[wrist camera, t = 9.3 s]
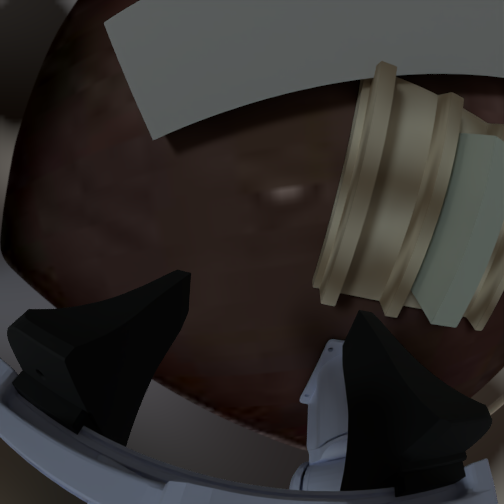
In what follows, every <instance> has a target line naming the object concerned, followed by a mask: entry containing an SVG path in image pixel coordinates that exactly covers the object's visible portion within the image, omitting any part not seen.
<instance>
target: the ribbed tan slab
mask: <svg viewBox="0 0 504 504" xmlns="http://www.w3.org/2000/svg"><path fill="white" fill-rule="evenodd" d="M396 72H397V66H394V65H392V64H389V63H386V62H384V61H381V62H380V63H378V64H377V65H376V70H375V74H374V78H367V79H361V80H360V86H359V92H358V98H357V104H356V109H355V114H354V120H353V125H352V130H351V134H350V139H349V144H348V149H347V153H346V158H345V162H344V166H343V171H342V175H341V179H340V183H339V187H338V191H337V195H336V199H335V203H334V207H333V211H332V215H331V218H330V222H329V226H328V229H327V233H326V236H325V240H324V243H323V247H322V250H321V254H320V257H319V260H318V264H317V267H316V270H315V274H314V277H313V280H312V283H313V287H314V288H319V290H320V298H321V304H326V305H331V306H335V305H336V302H337V300H338V297H339V294H340V293H343V294H348V295H352V296H357V297H362V298H367V299H372V300H377V301H380V304H381V306H382V309H383V311H384V313H385V316H389V317H395V318H397V317H398V315H399V313H400V311H401V309H402V307H403V306H408V307H413V308H419V309H422V308H421V306H420V304H419V303H418V301H417V299H416V298H415V296H414V295H413V293H412V291H411V287H412V285H413V283H414V281H415V278H416V276H417V274H418V271H419V269H420V267H421V264H422V262H423V259H424V257H425V254H426V251H427V249H428V246H429V244H430V241H431V238H432V235H433V232H434V229H435V227H436V224H437V221H438V217H439V214H440V211H441V208H442V205H443V201H444V198H445V194H446V191H447V187H448V183H449V179H450V175H451V171H452V167H453V162H454V158H455V153H456V148H457V143H458V137H459V133H468V134H482V135H492V136H497V137H498V138H500V139H501V140H502V141H504V124H488V123H486V122H485V121H483V120H482V119H480V118H478V117H477V116H475V115H473V114H472V113H470V112H468V111H467V110H465V109H463V101H464V98H462V97H460V96H458V95H456V94H455V93H453V92H450V93H446V94H441V95H437V94H435V93H433V92H431V91H428V90H426V89H424V88H422V87H420V86H417V85H415V84H413V83H410V82H408V81H406V80H403V79H401V78H398V77H396ZM503 290H504V221H503V224H502V227H501V230H500V233H499V236H498V239H497V242H496V244H495V247H494V250H493V252H492V255H491V257H490V260H489V262H488V265H487V267H486V269H485V272H484V274H483V276H482V278H481V281H480V283H479V285H478V287H477V289H476V291H475V293H474V295H473V297H472V299H471V301H470V303H469V305H468V307H467V309H466V311H465V313H464V314H463V317H466V318H467V319H468V320H469V322H470V323H471V325H472V326H473V327H474V329H475V330H480V331H482V329H483V328H484V326H485V324H486V322H487V321H488V319H489V317H490V315H491V314H492V312H493V310H494V308H495V306H496V304H497V302H498V300H499V298H500V296H501V294H502V292H503Z"/></svg>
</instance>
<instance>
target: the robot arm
mask: <svg viewBox="0 0 504 504" xmlns="http://www.w3.org/2000/svg"><path fill="white" fill-rule="evenodd" d="M190 280H191V273H189V272H185V271H181V270H176V271H173V272H171V273H169V274H167V275H165V276H163V277H161V278H159V279H157V280H154V281H152V282H150V283H148V284H146V285H144V286H142V287H139V288H137V289H134V290H132V291H130V292H127V293H125V294H122V295H119V296H117V297H114V298H110V299H107V300H104V301H100V302H96V303H91V304H86V305H82V306H76V307H69V308H60V309H29V310H27V311H26V312H25V313H24V314H23V315H22V316H21V317H20V318H18V319H17V320H16V321H15V322H14V323H13V324H12V325H11V326H9V327H8V331H7V336H8V341H9V343H10V346H11V348H12V350H13V352H14V354H15V356H16V358H17V360H18V362H19V364H20V366H21V368H22V370H23V371H22V372H21V373H20V374H19V375H18V374H17V373H16V372H15V370H14V369H13V368H12V367H10V366H9V365H8V364H7V363H6V362H5V361H3V360H2V359H1V358H0V437H1V438H2V439H3V440H4V441H5V442H6V443H7V444H8V445H9V446H10V447H11V448H12V449H14V450H15V451H16V452H17V453H18V454H19V455H20V456H22V457H23V458H24V459H25V460H26V461H28V462H29V463H30V464H31V465H32V466H34V467H35V468H36V469H38V470H39V471H40V472H41V473H43V474H44V475H46V476H47V477H48V478H49V479H51V480H52V481H54V482H55V483H57V484H58V485H60V486H61V487H63V488H64V489H66V490H67V491H69V492H70V493H72V494H74V495H75V496H77V497H78V498H80V499H82V500H83V501H85V502H87V504H497V503H498V501H497V496H496V491H495V486H494V482H493V478H492V474H491V470H490V467H489V463H488V460H487V459H483V460H480V461H477V462H474V463H471V464H469V465H467V466H465V467H464V466H463V462H462V461H464V460H466V458H467V456H466V452H465V451H466V450H467V449H469V448H470V447H471V446H472V445H473V444H475V443H476V442H477V441H478V440H479V439H480V438H481V437H482V436H483V435H484V434H485V433H486V432H487V431H488V429H489V428H490V426H491V424H492V418H491V416H490V413H489V411H488V409H487V407H486V405H484V404H482V403H479V402H477V401H475V400H473V399H471V398H469V397H467V396H465V395H463V394H461V393H460V392H458V391H456V390H454V389H453V388H451V387H450V386H448V385H447V384H445V383H444V382H443V381H441V380H440V379H438V378H437V377H436V376H434V375H433V374H432V373H431V372H429V371H428V370H427V369H426V368H425V367H424V366H422V365H421V364H420V363H419V362H418V361H417V360H416V359H415V358H414V357H413V356H412V355H411V354H410V353H409V352H408V351H407V350H406V349H405V348H404V347H403V346H402V345H401V344H400V343H399V341H398V340H397V339H396V338H395V337H394V336H393V335H392V334H391V333H390V331H389V330H388V329H387V328H386V327H385V326H384V325H383V323H382V322H381V321H380V320H379V319H378V318H377V317H376V316H375V315H374V314H373V313H372V312H366V311H361V310H359V311H358V314H357V316H356V318H355V320H354V322H353V325H352V327H351V329H350V331H349V333H348V335H347V337H346V339H345V341H343V340H337V339H331V340H329V341H328V342H327V344H326V346H325V348H324V350H323V352H322V355H321V357H320V359H319V361H318V363H317V365H316V367H315V369H314V371H313V373H312V375H311V377H310V379H309V381H308V383H307V385H306V387H305V389H304V391H303V393H302V395H301V397H300V402H301V403H305V404H308V427H307V450H308V453H309V462H305V463H303V464H301V465H300V466H299V467H298V469H297V470H296V472H295V473H294V475H293V477H292V479H291V483H290V488H289V489H280V488H271V487H263V486H257V485H250V484H245V483H239V482H233V481H229V480H225V479H220V478H216V477H212V476H208V475H204V474H200V473H197V472H193V471H190V470H186V469H183V468H180V467H177V466H174V465H171V464H167V463H165V462H162V461H159V460H157V459H154V458H151V457H149V456H146V455H144V454H141V453H139V452H136V451H134V450H132V449H129V448H127V447H126V445H127V441H128V438H129V435H130V432H131V429H132V426H133V423H134V421H135V418H136V415H137V413H138V410H139V407H140V405H141V402H142V400H143V397H144V395H145V392H146V390H147V388H148V386H149V384H150V381H151V379H152V377H153V375H154V373H155V371H156V369H157V367H158V366H159V364H160V363H161V361H162V359H163V358H164V356H165V354H166V353H167V351H168V350H169V348H170V346H171V345H172V343H173V342H174V340H175V338H176V337H177V335H178V333H179V332H180V330H181V328H182V326H183V323H184V321H185V319H186V316H187V314H188V311H189V294H190ZM329 348H332V349H329Z"/></svg>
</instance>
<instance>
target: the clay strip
mask: <svg viewBox="0 0 504 504" xmlns="http://www.w3.org/2000/svg"><path fill="white" fill-rule="evenodd" d="M503 221H504V141H502V140H501V139H500V138H498V137H497V136H492V135H482V134H468V133H459V137H458V143H457V148H456V153H455V158H454V162H453V167H452V171H451V175H450V179H449V183H448V187H447V191H446V194H445V198H444V201H443V205H442V208H441V211H440V214H439V217H438V221H437V224H436V227H435V229H434V232H433V235H432V238H431V241H430V244H429V246H428V249H427V251H426V254H425V257H424V259H423V262H422V264H421V267H420V269H419V271H418V274H417V276H416V278H415V281H414V283H413V285H412V287H411V291H412V293H413V295H414V296H415V298H416V299H417V301H418V303H419V304H420V306H421V308H422V309H423V311H424V313H425V315H426V316H427V318H428V320H429V321H430V323H431V324H435V325H442V326H449V327H457V325H458V323H459V322H460V320H461V318H462V316H463V314H464V313H465V311H466V309H467V307H468V305H469V303H470V301H471V299H472V297H473V295H474V293H475V291H476V289H477V287H478V285H479V283H480V281H481V278H482V276H483V274H484V272H485V269H486V267H487V265H488V262H489V260H490V257H491V255H492V252H493V250H494V247H495V244H496V242H497V239H498V236H499V233H500V230H501V227H502V224H503Z"/></svg>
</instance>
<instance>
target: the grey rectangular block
mask: <svg viewBox="0 0 504 504" xmlns="http://www.w3.org/2000/svg"><path fill="white" fill-rule="evenodd" d="M104 25H105V27H106V30H107V33H108V35H109V38H110V40H111V43H112V45H113V48H114V50H115V53H116V55H117V58H118V60H119V63H120V65H121V68H122V70H123V72H124V75H125V77H126V80H127V82H128V84H129V87H130V89H131V91H132V94H133V96H134V98H135V101H136V103H137V105H138V107H139V110H140V112H141V114H142V116H143V119H144V121H145V123H146V125H147V128H148V130H149V132H150V134H151V136H152V139H153V140H155V139H157V138H159V137H162V136H164V135H166V134H168V133H171V132H173V131H176V130H178V129H180V128H183V127H185V126H188V125H190V124H193V123H195V122H198V121H201V120H203V119H206V118H209V117H211V116H214V115H217V114H220V113H223V112H226V111H229V110H232V109H235V108H238V107H241V106H244V105H247V104H250V103H254V102H257V101H261V100H264V99H268V98H271V97H275V96H279V95H283V94H287V93H291V92H295V91H299V90H304V89H309V88H313V87H318V86H323V85H328V84H334V83H340V82H346V81H352V80H359V79H367V78H374V74H375V70H376V65H377V64H378V63H380V62H381V61H384V62H386V63H389V64H392V65H394V66H397V72H396V76H397V75H412V74H468V75H483V76H494V77H502V78H504V0H140V1H138V2H137V3H135V4H133V5H131V6H130V7H128V8H126V9H125V10H123V11H121V12H120V13H118V14H117V15H115V16H113V17H112V18H110V19H109V20H107V21H106V22H104Z"/></svg>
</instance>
